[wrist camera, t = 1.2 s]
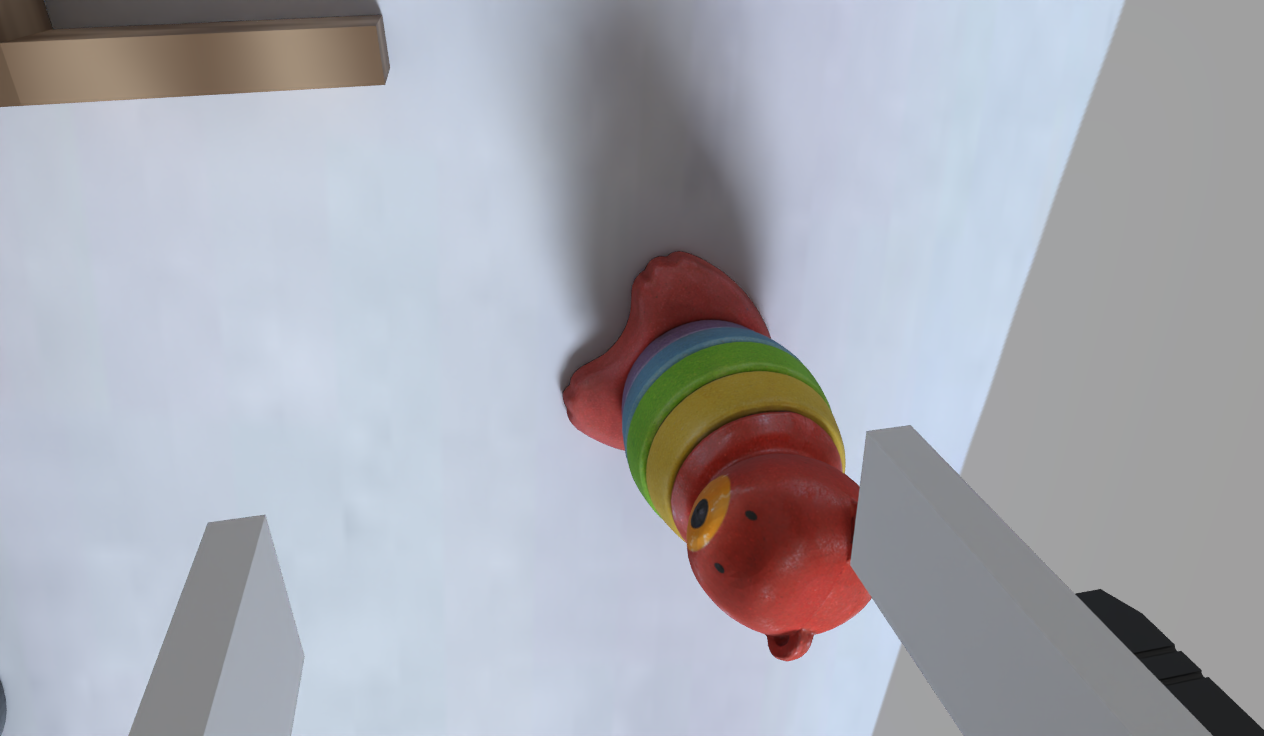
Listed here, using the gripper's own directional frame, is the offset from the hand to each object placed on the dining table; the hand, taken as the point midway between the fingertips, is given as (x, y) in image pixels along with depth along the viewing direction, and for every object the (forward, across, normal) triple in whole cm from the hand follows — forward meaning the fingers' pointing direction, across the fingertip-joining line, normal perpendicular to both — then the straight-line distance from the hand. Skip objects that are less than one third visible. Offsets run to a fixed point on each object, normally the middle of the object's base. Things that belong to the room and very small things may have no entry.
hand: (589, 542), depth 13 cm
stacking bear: (+28, +9, -12) cm, 31 cm away
